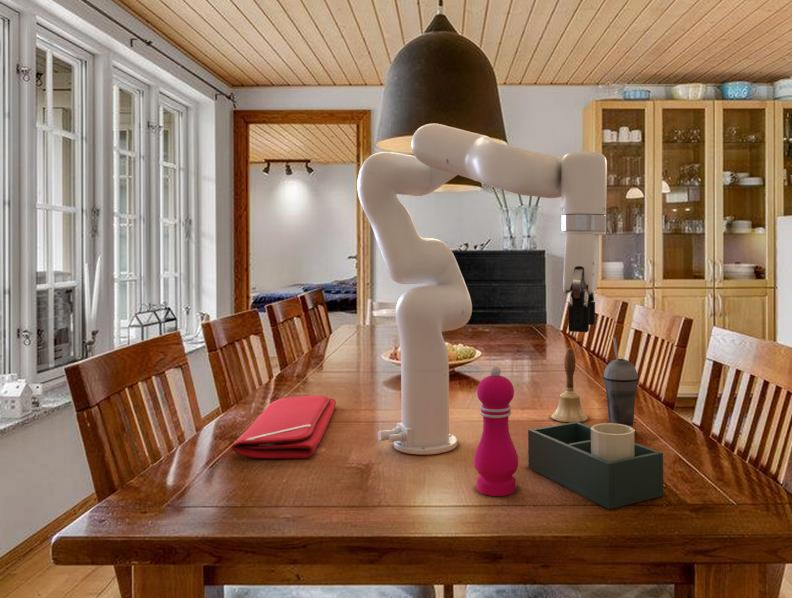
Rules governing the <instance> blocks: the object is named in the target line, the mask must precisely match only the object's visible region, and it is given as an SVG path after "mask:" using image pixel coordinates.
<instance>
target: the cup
mask: <svg viewBox="0 0 792 598" xmlns="http://www.w3.org/2000/svg"><path fill="white" fill-rule="evenodd" d="M635 431H636V430H635V428H634V427H633V428H632V427H630V426H627V425H622V424H615V423H609V422H604V423H602V422H601V423H596V424H593V425H592V426H591V454H592V455H594V456H597V457H599V458H601V459H604V460H606V461H609V462H611V461H616V460H621V459H625V458H630V457H635V443H636V440H635V439H636V437H635V436H636V433H635Z"/></svg>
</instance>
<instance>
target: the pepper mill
mask: <svg viewBox="0 0 792 598" xmlns="http://www.w3.org/2000/svg"><path fill="white" fill-rule="evenodd" d="M501 372H502V370H501V368H500V367H499V366H498V365H493V366H492V367H490V369H489V374H490V375H488V376H485V377H483V378H482V379H481V380H480V381H479V382H478V384H477V388H476V395H477V398H478V400H479V402H480V403H481V405H480V407H479V408H480V412H479V413H480V415H481V416H482V422H483V425H482V433H481V437H480V440H479V443H478V445H477V447H476V450H475V453H474V456H473V466H474V469H475V470H476V472H477V473H478V474H479V475H478V476H477V478H476V489H477V491H478V492H479V493H480V494H482V495H485V496H489V497H504V496H505V497H506V496H508V495H512V494H513V493H514V492H515V491H516V489H517V488H516V486H517V485H516V483H517V482H516V480H517V479H516V478H515V476H514V474H515V473H516V472H517V470H518V469H519V456H518V451H517V450H516V449H517V448H516V447H515V445H514V442H513V439H512V438H511V433H510V430H509V429H510V428H509V427H510V426H509V417H510V416H511V415H512V412H511V409H512V406H511V405H510V403H511V402H512V401H513V399H514V396H515V389H514V385H513V383H512V382H511V380H509V378H507V377H506V376H503V375H501Z"/></svg>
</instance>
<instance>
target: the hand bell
mask: <svg viewBox="0 0 792 598" xmlns="http://www.w3.org/2000/svg"><path fill="white" fill-rule="evenodd" d="M576 361H577V360H576V356H575V353H574V349H573V348H567V349H566V352H565V356H564V359H563V366H564V371H565V376H566V379H565V381H566V382H565V384H566V385H565V391H563V392H561V393H560V395H559V399H558V405H557V407H556V409H555V411H554V412H553V413H552V414H551V416H550V417H551V419H553V420H554V421H556V422H561V423H572V422H580V423H584V422H586V421H588V419H589V417H588V415H587V414H586V413H585V412H584V409H583V408H582V405H581V399H580V398H581V397H580V395H579V394H578V393H577V392H575V391H574V375H575V372H576V363H577V362H576Z"/></svg>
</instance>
